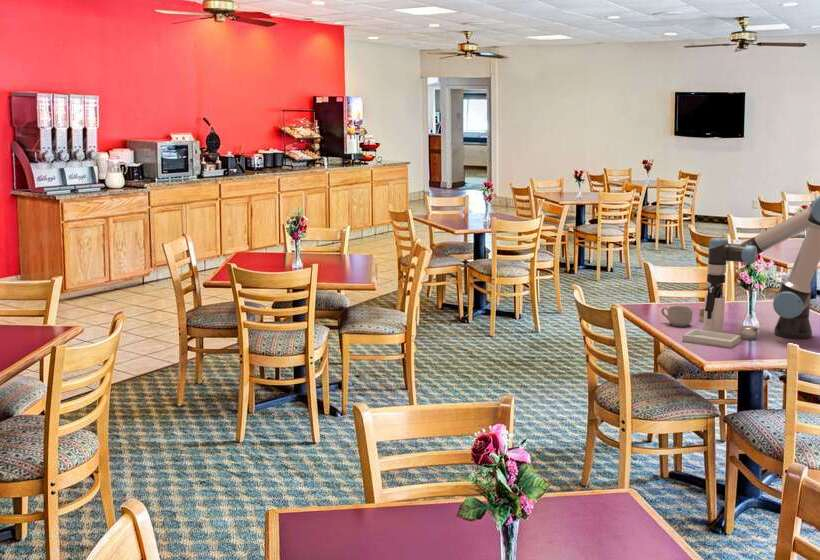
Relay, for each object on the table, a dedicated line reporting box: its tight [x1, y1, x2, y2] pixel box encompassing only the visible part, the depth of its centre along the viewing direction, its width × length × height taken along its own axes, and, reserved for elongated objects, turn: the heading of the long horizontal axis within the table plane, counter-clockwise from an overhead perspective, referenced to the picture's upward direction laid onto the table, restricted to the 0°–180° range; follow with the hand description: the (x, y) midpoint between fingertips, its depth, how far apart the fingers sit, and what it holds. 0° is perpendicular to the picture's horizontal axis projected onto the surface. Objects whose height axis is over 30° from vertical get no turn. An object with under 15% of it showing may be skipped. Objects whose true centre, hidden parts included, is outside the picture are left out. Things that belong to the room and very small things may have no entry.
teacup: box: [660, 305, 694, 328], centre depth 422 cm, size 14×11×8 cm
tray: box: [682, 328, 742, 349], centre depth 391 cm, size 20×14×3 cm
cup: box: [702, 294, 726, 333], centre depth 407 cm, size 8×8×16 cm
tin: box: [739, 325, 759, 341], centre depth 397 cm, size 7×7×5 cm
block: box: [698, 306, 704, 323], centre depth 431 cm, size 5×5×6 cm
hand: (713, 323), depth 408 cm, fingers open, 10 cm apart
